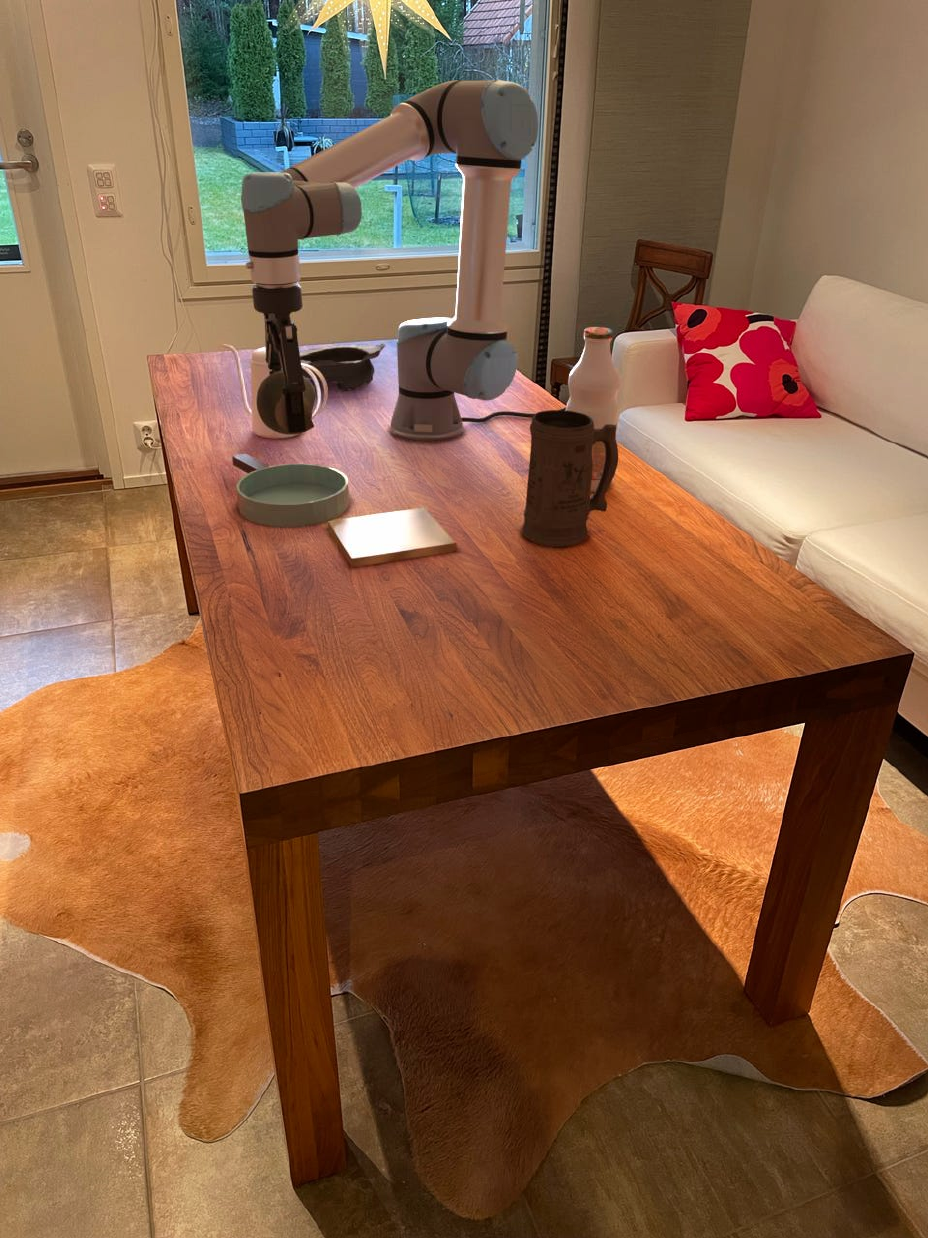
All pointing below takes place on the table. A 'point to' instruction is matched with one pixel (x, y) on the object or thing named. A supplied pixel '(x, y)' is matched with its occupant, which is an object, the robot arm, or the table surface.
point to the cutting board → (390, 536)
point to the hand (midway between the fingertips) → (288, 419)
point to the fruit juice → (595, 390)
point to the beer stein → (565, 476)
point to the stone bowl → (343, 364)
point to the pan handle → (247, 463)
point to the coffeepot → (257, 376)
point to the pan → (292, 495)
